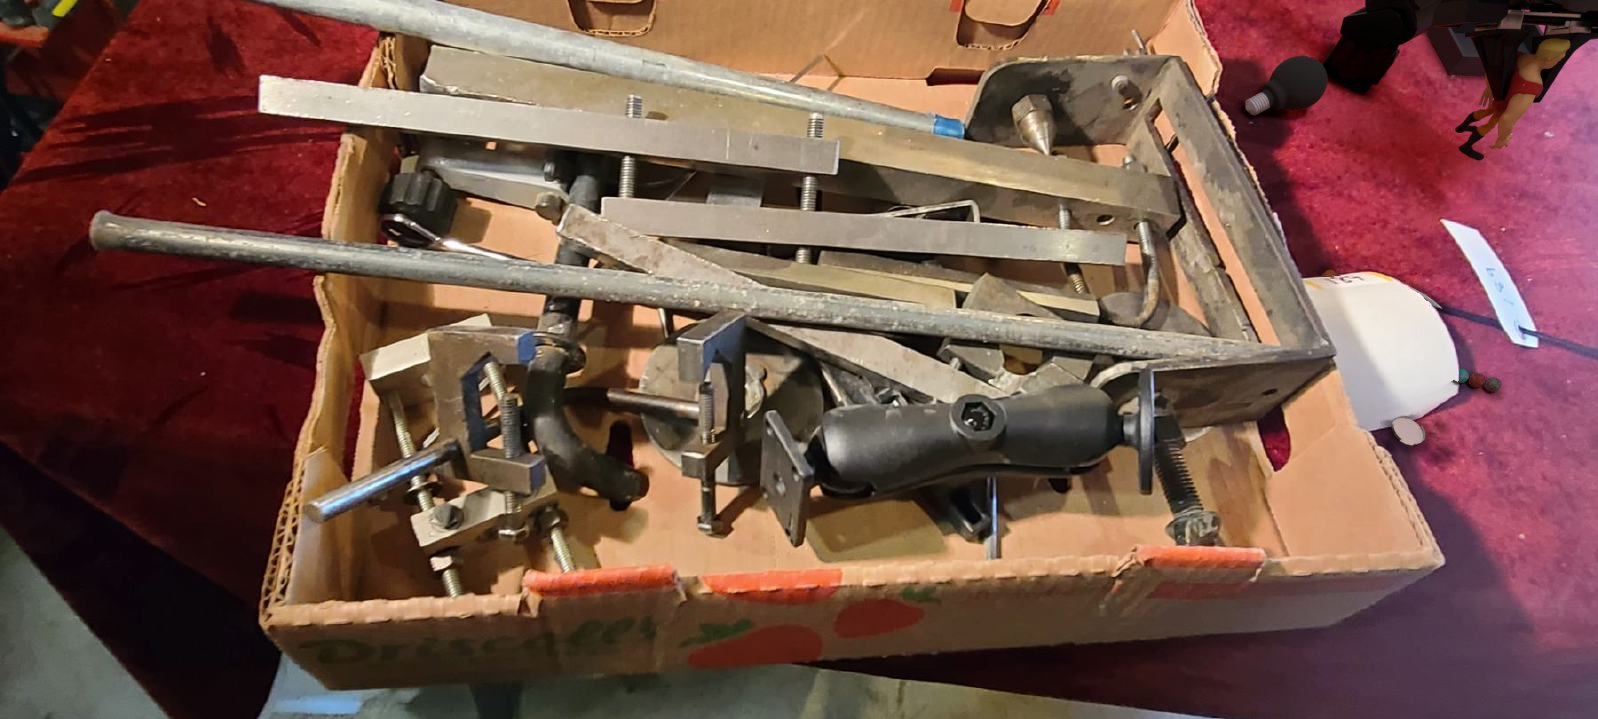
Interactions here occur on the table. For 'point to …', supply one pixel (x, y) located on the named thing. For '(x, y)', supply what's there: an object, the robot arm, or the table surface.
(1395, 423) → the grey flat disc
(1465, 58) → the tray
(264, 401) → the table surface
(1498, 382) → the beads
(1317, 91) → the light bulb
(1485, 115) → the action figure
